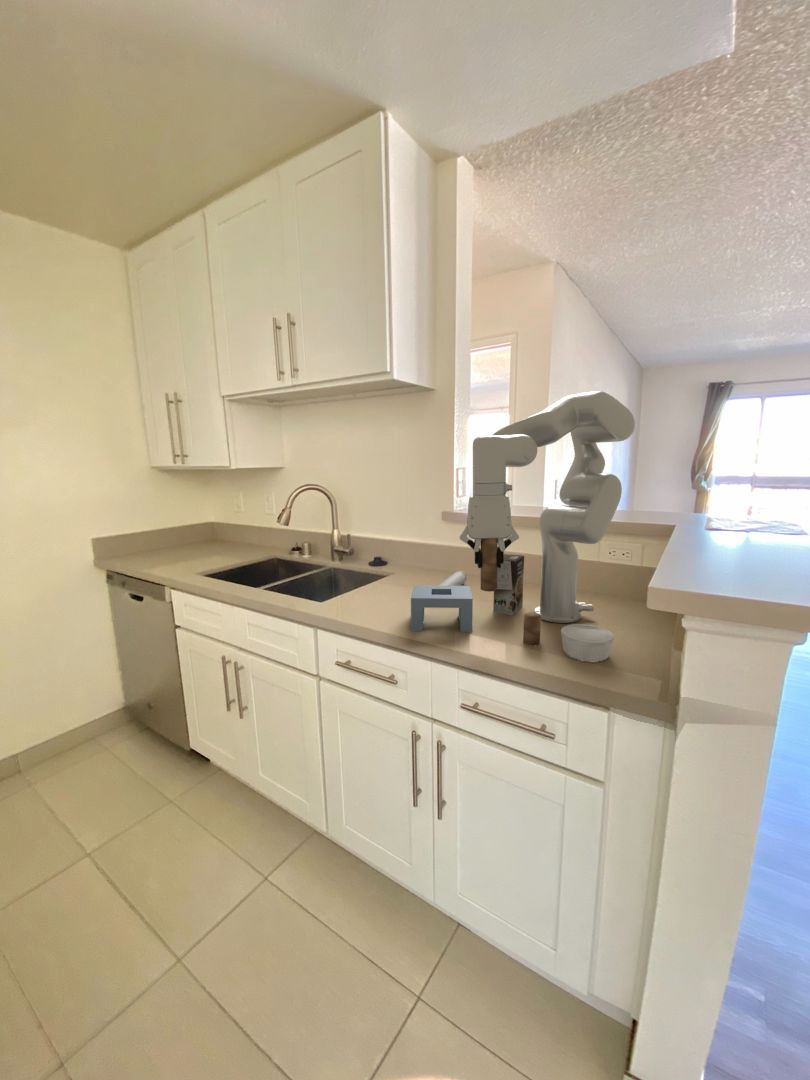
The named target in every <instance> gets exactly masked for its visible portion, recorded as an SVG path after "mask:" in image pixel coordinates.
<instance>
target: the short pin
mask: <svg viewBox="0 0 810 1080" xmlns="http://www.w3.org/2000/svg"><path fill="white" fill-rule="evenodd" d="M541 625H542V619H541V615H540V614H538V613H534V611H533V612H532V611H528V612H524V614H523V630H522V631H523V635H522V641H523V644H525V645H528V646H533V647H534V646H535V645H536V646H539V645H540V644H541V628H542V626H541ZM536 646H535V647H536Z"/></svg>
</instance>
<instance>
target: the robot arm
mask: <svg viewBox="0 0 810 1080" xmlns="http://www.w3.org/2000/svg"><path fill="white" fill-rule="evenodd" d="M635 424H636V423H635V418H634V415H633V413H632V411H631V410H630V409H629V408H628V407H627V406H625V405H624V404H623V403H622V402H620V401H619V400H618V399H616V398H615V397H614V396H613V395H611V394H609V393H607V392H604V391H602V390H601V391H600V390H596V391H589V392H581V393H577V394H570V395H567V396H565V397H563V398H560V400H558V401H556V402H555V403H553V404H552V405H550V406H548V407H546V408H545V409H543V410H542V411H540V412H538V413H535V414H533V415H530V416H528V417H525V418H523V419H521V420H518V421H515V422H513V423H510V424H508V425H506V426H503V427H501V428H499V429H497V430H496V431H495V432H493V433H492V434H489V435H481V436H477V437H475V438H474V440H472V441H473V442H472V495H469V498H468V503H467V504H468V505H467V513H466V515H467V517H466V526H465V528H464V530H463V531H462V533H461V534H460V536H459V540H460V541H462V542H463V543H465V544H467V545H468V546H469V547H470V548H471V549H472V550H473V551H474V565H477V568H478V569H481V539H486V538H494V539H498V551H497V567H498V568H501V564H503V563H504V554H505V553H504V552H505V551H506V549H507V548H508V547H509V546H510V545H511V544H513V543H514V542H516V541H517V540H519V538H520V536H519V534H518V532H517V531H516V530H515V528H514V526H513V525H512V511H511V503H510V499H509V498H510V497H509V495H507V493H508V492H509V491H513V484H509V483H507V481H506V480H507V468H522V467H526V466H528V465H531V464H532V463H533V462H534V461H535V459H536V458H537V455H538V448H541V447H545V446H548V445H552V444H554V443H556V442H557V441H559V440H560V439H562V438H563V437H565V436H566V435H569V433H570V437H571V441H572V445H573V446H572V447H573V449H574V450H573V451H574V457H573V461H572V463H571V466H570V468H569V469H568V471H567V474H566V476H565V478H564V480H563V482H562V484H561V486H560V489H559V499H560V501H561V502H562V503H563V504H554V505H550V506H548V507H546V508H545V509H544V510H543V511H542V513H541V514H540V515H539V516H540V517H539V531H540V532H539V533H540V536H541V553H542V554H541V575H540V599H539V602H540V603H539V606H537V607H535V608H534V610H533V612H534V613H538V614H540V615H541V621H542V620H543V621H546V622H551V623H557V624H558V623H559V624H563V623H564V624H569V623H575V622H578V621H579V620H581V618H582V614H581V613H582V611H583V612H594V610H595V609H594V604H587V603H586V602H578V601H577V587H578V586H577V583H578V567H579V554H578V550H577V548H576V546H575V543H578V544H585V545H594V544H595V545H596V544H598V543H599V542H600V541H602V540H603V538H604V536H605V535H606V534H607V531H608V530H609V529H608V528H609V526H610V524H611V522H612V521H613V517H614V515H615V513H616V511H617V509H618V507H619V505H620V501H621V498H622V494H623V492H622V489H623V488H622V487H623V486H622V482H621V480H620V479H619V478H618V476H616V475H615V474H612V473H607V472H604V470H605V468H606V460H605V457H604V454H603V453H602V452H601V450H600V449H599V447H598V444H597V443H615V442H616V443H617V442H618V443H619V442H623V441H625V440H628V439H629V438H630V437H631V436H632V435H633V433H634V430H635V426H636V425H635ZM472 539H473V540H474V541H473V540H472Z"/></svg>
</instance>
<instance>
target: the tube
mask: <svg viewBox="0 0 810 1080" xmlns="http://www.w3.org/2000/svg"><path fill="white" fill-rule="evenodd" d="M467 579H468V577H467V574H466V573H465V572H464V571H462V570H456V571H455V572H454V573H452V574H451V575H450V576H449V577H447V578H446V579H445V580H443V581H441V582H440V583H439V584H438V585H437V586H463V585H465V584H466V582H467ZM462 584H463V585H462Z"/></svg>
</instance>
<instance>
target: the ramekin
mask: <svg viewBox="0 0 810 1080" xmlns="http://www.w3.org/2000/svg"><path fill="white" fill-rule="evenodd" d="M560 635H561V639H562V649H563V651H564V653H565V654H566V655H567V656H568V655H569V656H568V657H569V658H571V657H572V659H574V658H575V659H574V660H576V659H578V660H577V661H579V660H583V661H582V662H584V661H601V662H603V661H602V660H604V661H606V659H608V657H609V656H610V653H611V649H612V645H613V643H614V642H615V640H614V639H615V635H614V634H613V633H612V632H611V631H609V630H608V629H605V628H603V627H599V626H596V625H590V624H583V623H582V624H581V623H572V624H568V625H565V626H563V627H562V628H561V630H560Z"/></svg>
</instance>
